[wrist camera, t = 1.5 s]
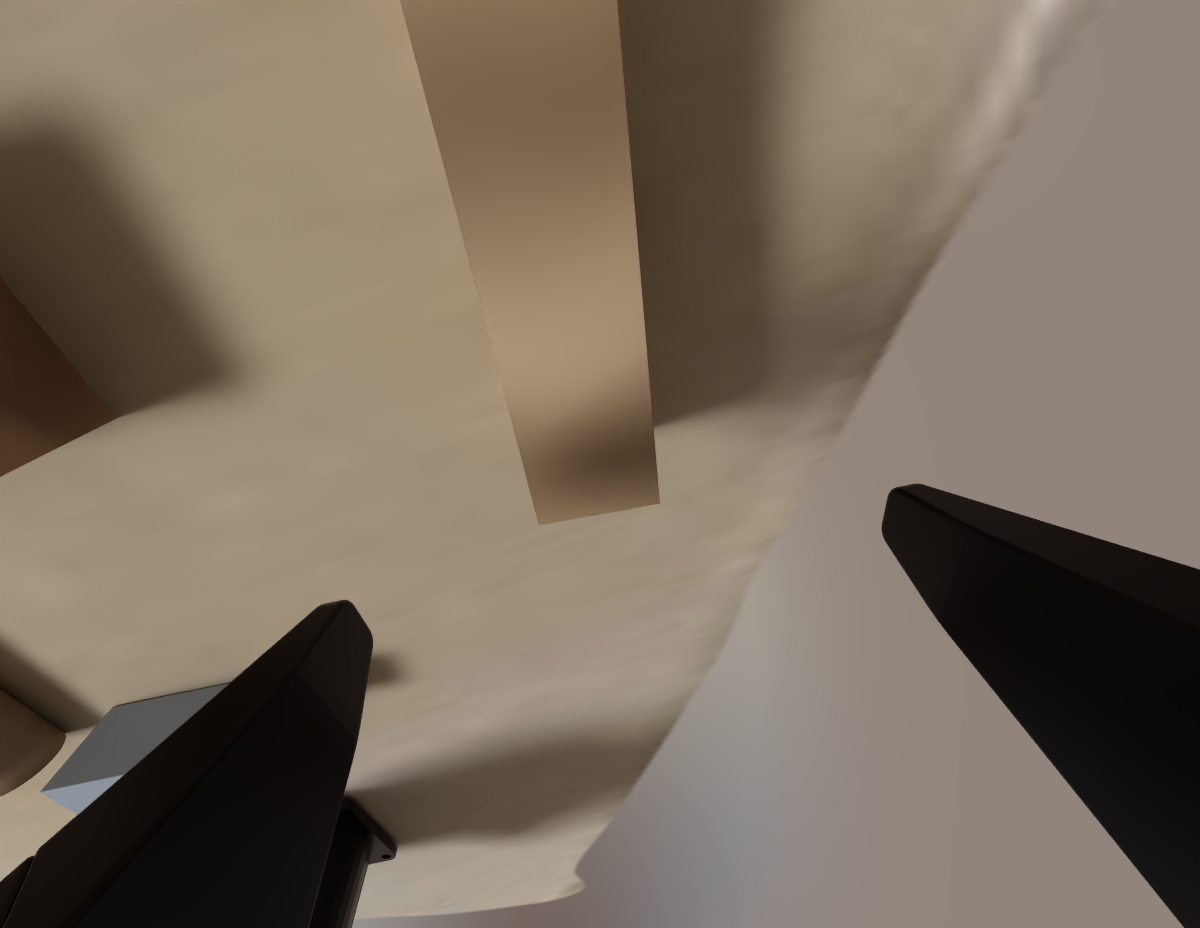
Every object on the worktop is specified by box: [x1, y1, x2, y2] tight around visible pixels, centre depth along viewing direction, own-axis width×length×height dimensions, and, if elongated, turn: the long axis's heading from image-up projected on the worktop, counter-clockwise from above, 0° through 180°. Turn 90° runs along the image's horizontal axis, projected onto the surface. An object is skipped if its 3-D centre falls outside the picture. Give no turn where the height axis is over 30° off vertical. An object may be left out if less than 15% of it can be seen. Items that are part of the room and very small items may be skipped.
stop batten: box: [40, 683, 229, 814], centre depth 17 cm, size 2×8×3 cm, turn 99°
